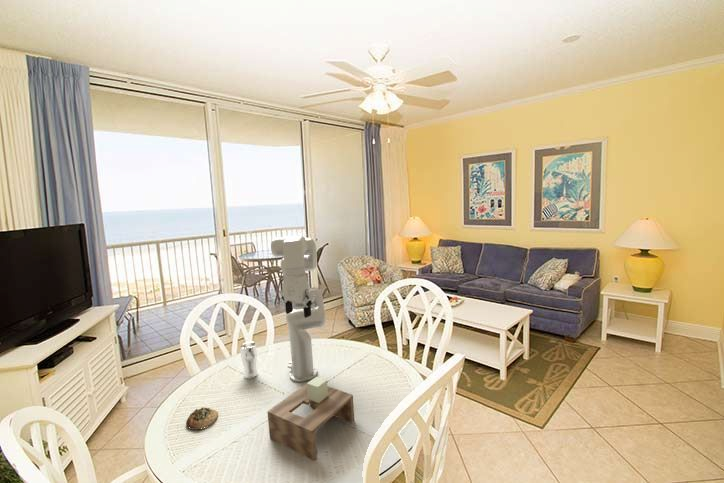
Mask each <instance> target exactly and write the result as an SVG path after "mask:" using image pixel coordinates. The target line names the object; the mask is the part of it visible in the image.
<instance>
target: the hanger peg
mask: <svg viewBox="0 0 724 483" xmlns="http://www.w3.org/2000/svg"><path fill="white" fill-rule="evenodd" d="M306 384H307V390H308V399H309V400H312V401H315V402H317V403H320V402H321V401H322V400H323V399H325V398H326V397H327V396H328V388H327V386H328V380H327V379H325V378H321V377H318V376H315V377H314V378H313V379H311V380H309V381H307V382H306Z"/></svg>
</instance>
